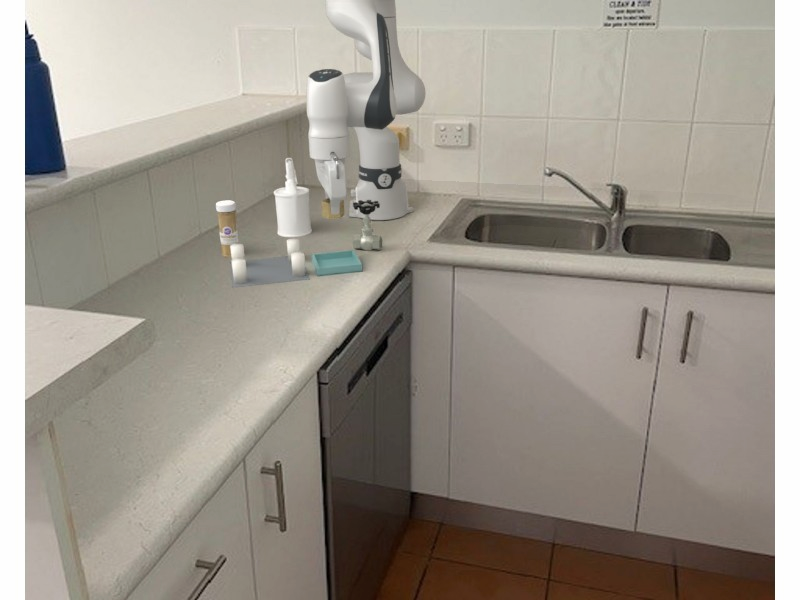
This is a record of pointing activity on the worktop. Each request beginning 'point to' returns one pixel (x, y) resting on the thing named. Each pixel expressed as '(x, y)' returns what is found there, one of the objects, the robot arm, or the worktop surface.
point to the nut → (327, 210)
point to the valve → (367, 227)
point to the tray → (336, 263)
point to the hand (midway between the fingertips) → (333, 210)
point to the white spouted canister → (292, 206)
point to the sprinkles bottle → (227, 225)
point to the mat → (268, 271)
